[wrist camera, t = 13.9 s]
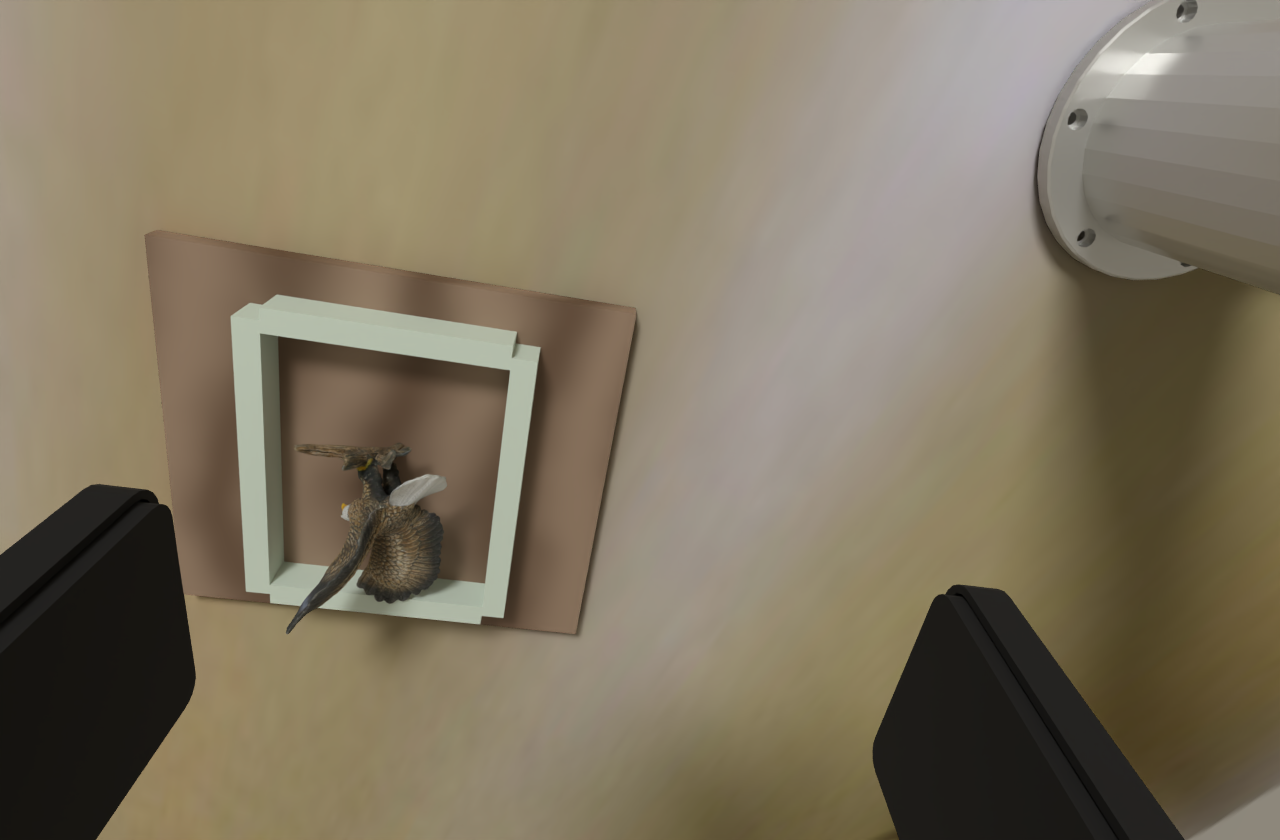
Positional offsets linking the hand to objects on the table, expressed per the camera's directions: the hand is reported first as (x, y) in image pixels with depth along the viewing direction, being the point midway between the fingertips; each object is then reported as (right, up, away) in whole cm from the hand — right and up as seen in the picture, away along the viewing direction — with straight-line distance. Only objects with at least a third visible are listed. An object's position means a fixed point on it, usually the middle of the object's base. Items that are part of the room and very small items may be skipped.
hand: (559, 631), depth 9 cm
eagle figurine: (-12, -2, +29) cm, 32 cm away
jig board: (-12, +1, +29) cm, 32 cm away
